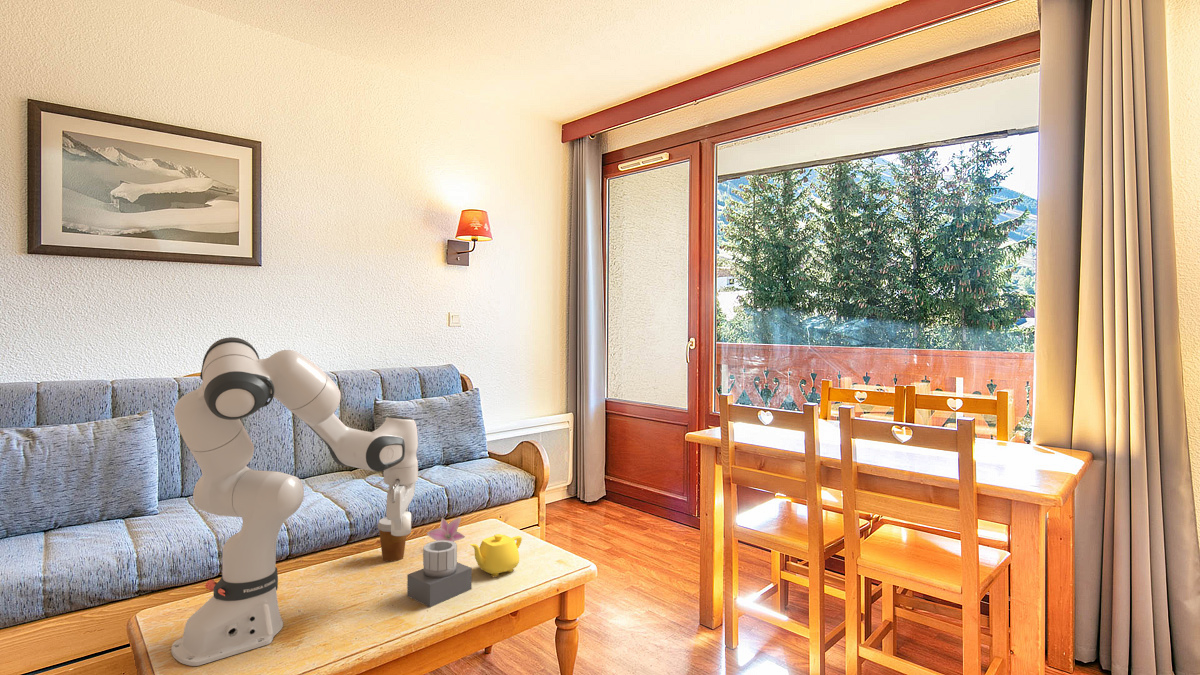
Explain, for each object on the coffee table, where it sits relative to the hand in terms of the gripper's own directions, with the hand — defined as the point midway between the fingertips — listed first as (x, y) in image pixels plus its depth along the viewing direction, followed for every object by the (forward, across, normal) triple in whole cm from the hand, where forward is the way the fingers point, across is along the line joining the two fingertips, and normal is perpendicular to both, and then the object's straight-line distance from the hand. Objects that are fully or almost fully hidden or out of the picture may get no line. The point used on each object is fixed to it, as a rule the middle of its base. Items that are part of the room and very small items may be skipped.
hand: (401, 524), depth 166 cm
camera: (+20, +1, -10) cm, 22 cm away
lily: (+20, +33, -8) cm, 40 cm away
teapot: (+20, +14, -25) cm, 35 cm away
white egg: (+2, 0, 0) cm, 2 cm away
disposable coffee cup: (+20, +27, +8) cm, 35 cm away
